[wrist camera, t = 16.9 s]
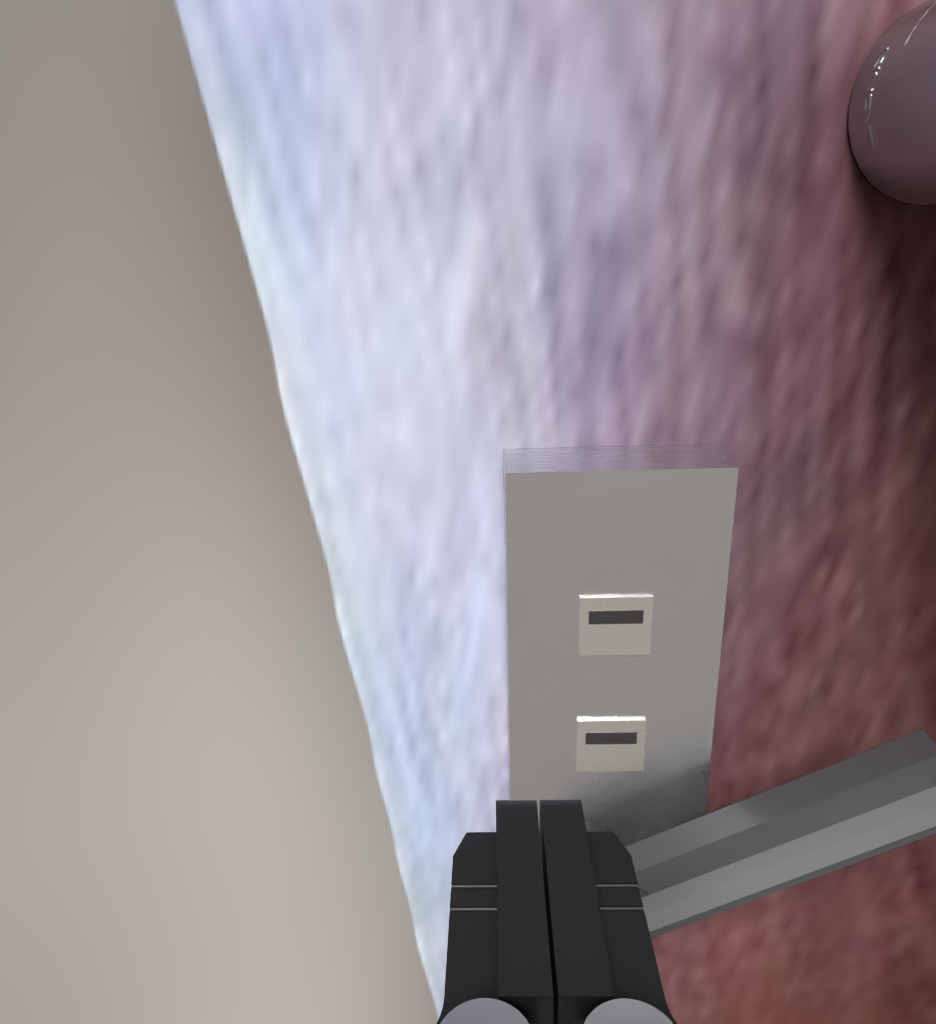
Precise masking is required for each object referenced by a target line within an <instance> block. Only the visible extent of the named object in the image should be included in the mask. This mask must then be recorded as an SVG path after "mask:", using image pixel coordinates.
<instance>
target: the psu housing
mask: <svg viewBox="0 0 936 1024" xmlns="http://www.w3.org/2000/svg"><path fill="white" fill-rule="evenodd" d="M503 463H504V521H505V578H506V636H507V694H508V752H509V800H536V801H537V809H538V821H539V803H540V800H581V802H582V807H583V813H584V819H585V825H586V831H587V832H602V831H613V832H614V833H615V834H616V836H617V837H618V838H619V840H620V841H621V842H622V844H623V845H624V846H625V847H626V846H629V845H631V844H634V843H636V842H639V841H641V840H644V839H646V838H649V837H651V836H654V835H656V834H659V833H661V832H664V831H666V830H669V829H672V828H674V827H677V826H679V825H682V824H684V823H687V822H689V821H692V820H694V819H697V818H699V817H702V816H704V815H705V812H706V801H707V791H708V781H709V770H710V760H711V749H712V739H713V729H714V718H715V708H716V697H717V687H718V676H719V666H720V656H721V645H722V635H723V624H724V614H725V603H726V593H727V583H728V572H729V562H730V551H731V541H732V530H733V520H734V510H735V499H736V489H737V478H738V467H737V466H736V465H735V464H734V463H733V462H731V461H730V460H729V459H728V458H727V457H725V456H724V455H723V454H722V453H721V452H720V451H718V450H717V449H716V448H715V447H714V446H712V445H711V444H680V445H640V446H601V447H561V448H521V449H503Z"/></svg>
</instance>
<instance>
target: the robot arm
mask: <svg viewBox="0 0 936 1024" xmlns="http://www.w3.org/2000/svg"><path fill="white" fill-rule="evenodd" d="M848 131H849V136H850V142H851V148H852V152H853V154H854V156H855V159H856V161H857V164H858V166H859V168H860V169H861V171H862V172H863V174H864V175H865V176H866V178H867V179H868V180H869V182H870V183H871V184H872V185H874V186H875V187H876V188H877V189H879V190H880V191H881V192H882V193H883V194H885V195H887V196H889V197H892V198H894V199H896V200H898V201H900V202H905V203H911V204H916V205H928V204H936V0H929V1H927V2H925V3H924V4H922V5H920V6H918V7H917V8H915V9H913V10H912V11H910V12H909V13H908V14H906V15H905V16H904V17H902V18H901V19H900V20H898V21H897V22H896V23H895V24H893V25H892V26H891V27H890V28H889V29H888V31H887V32H886V33H885V34H884V35H883V36H882V37H881V38H880V39H879V41H878V42H877V43H876V44H875V46H874V47H873V49H872V50H871V52H870V54H869V55H868V57H867V58H866V60H865V61H864V63H863V65H862V67H861V70H860V72H859V75H858V77H857V79H856V82H855V84H854V88H853V92H852V97H851V101H850V106H849V124H848ZM437 1024H677V1023H676V1022H675V1020H674V1018H673V1017H672V1015H671V1013H670V1011H669V1009H668V1007H667V1003H666V1000H665V997H664V993H663V988H662V984H661V980H660V975H659V971H658V967H657V963H656V958H655V954H654V950H653V946H652V941H651V937H650V933H649V929H648V924H647V920H646V916H645V912H644V911H643V903H642V899H641V895H640V890H639V888H638V882H637V878H636V873H635V869H634V865H633V861H632V856H631V854H630V853H629V852H628V850H627V849H626V848H625V846H624V845H623V844H622V842H621V841H620V840H619V838H618V837H617V836H616V834H615V833H614V832H613V831H602V832H587V831H586V825H585V819H584V813H583V807H582V802H581V800H540V803H539V821H538V809H537V801H536V800H496V832H474V833H466V835H465V836H464V838H463V840H462V842H461V843H460V845H459V847H458V849H457V851H456V852H455V854H454V856H453V868H452V889H451V900H450V917H449V933H448V949H447V965H446V981H445V997H444V1004H443V1009H442V1012H441V1015H440V1018H439V1020H438V1022H437Z"/></svg>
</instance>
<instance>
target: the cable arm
mask: <svg viewBox="0 0 936 1024" xmlns="http://www.w3.org/2000/svg"><path fill="white" fill-rule="evenodd" d="M935 833H936V744H935V743H934V742H933V741H932V740H931V739H930V737H929V736H928V735H927V734H926V733H925V732H924V731H923V730H922V729H921V730H919V731H916V732H914V733H911V734H909V735H906V736H904V737H901V738H899V739H896V740H893V741H891V742H888V743H886V744H883V745H881V746H878V747H876V748H873V749H871V750H868V751H866V752H863V753H861V754H858V755H856V756H853V757H851V758H848V759H846V760H843V761H841V762H838V763H835V764H833V765H830V766H828V767H825V768H823V769H820V770H818V771H815V772H813V773H810V774H808V775H805V776H803V777H800V778H798V779H795V780H793V781H790V782H788V783H785V784H782V785H780V786H777V787H775V788H772V789H770V790H767V791H765V792H762V793H760V794H757V795H755V796H752V797H750V798H747V799H745V800H742V801H740V802H737V803H735V804H732V805H730V806H727V807H724V808H722V809H719V810H717V811H714V812H712V813H709V814H707V815H704V816H702V817H699V818H697V819H694V820H692V821H689V822H687V823H684V824H682V825H679V826H677V827H674V828H672V829H669V830H666V831H664V832H661V833H659V834H656V835H654V836H651V837H649V838H646V839H644V840H641V841H639V842H636V843H634V844H631V845H629V846H626V847H625V848H626V849H627V850H628V852H629V853H630V854H631V856H632V861H633V865H634V869H635V873H636V878H637V882H638V888H639V890H640V895H641V899H642V903H643V911H644V912H645V916H646V920H647V924H648V929H649V933H650V937H651V938H653V937H656V936H658V935H661V934H664V933H666V932H669V931H672V930H675V929H677V928H680V927H683V926H685V925H688V924H691V923H694V922H696V921H699V920H702V919H704V918H707V917H710V916H713V915H715V914H718V913H721V912H724V911H726V910H729V909H732V908H734V907H737V906H740V905H743V904H745V903H748V902H751V901H753V900H756V899H759V898H762V897H764V896H767V895H770V894H772V893H775V892H778V891H781V890H783V889H786V888H789V887H791V886H794V885H797V884H800V883H802V882H805V881H808V880H810V879H813V878H816V877H819V876H821V875H824V874H827V873H829V872H832V871H835V870H838V869H840V868H843V867H846V866H849V865H851V864H854V863H857V862H859V861H862V860H865V859H868V858H870V857H873V856H876V855H878V854H881V853H884V852H887V851H889V850H892V849H895V848H897V847H900V846H903V845H906V844H908V843H911V842H914V841H916V840H919V839H922V838H925V837H927V836H930V835H933V834H935Z"/></svg>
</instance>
